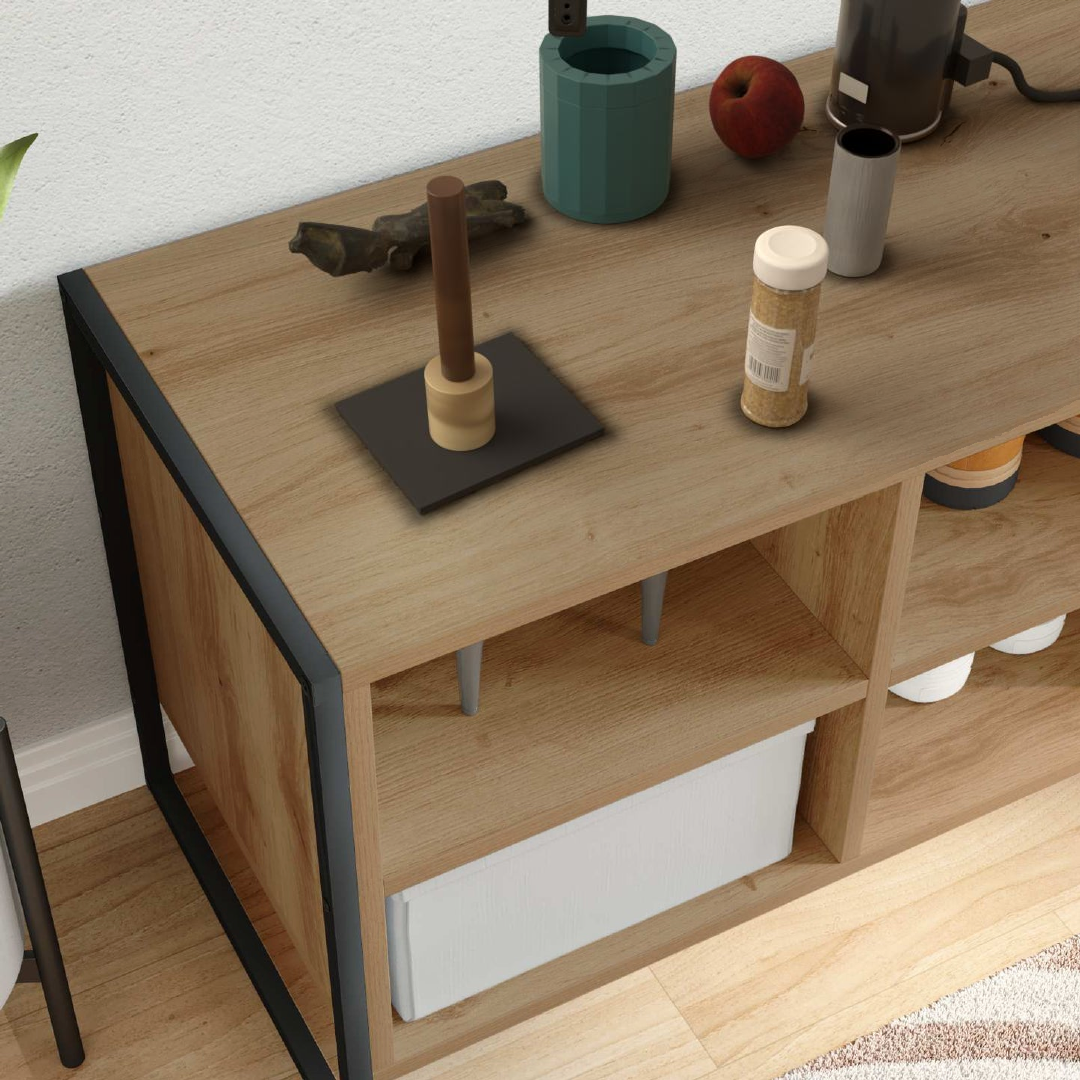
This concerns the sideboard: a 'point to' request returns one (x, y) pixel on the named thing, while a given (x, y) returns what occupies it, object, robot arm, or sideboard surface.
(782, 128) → the apple
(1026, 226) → the sideboard surface
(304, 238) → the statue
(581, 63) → the jar
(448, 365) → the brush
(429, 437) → the mat
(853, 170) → the grey hollow cylinder
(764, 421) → the spice bottle
